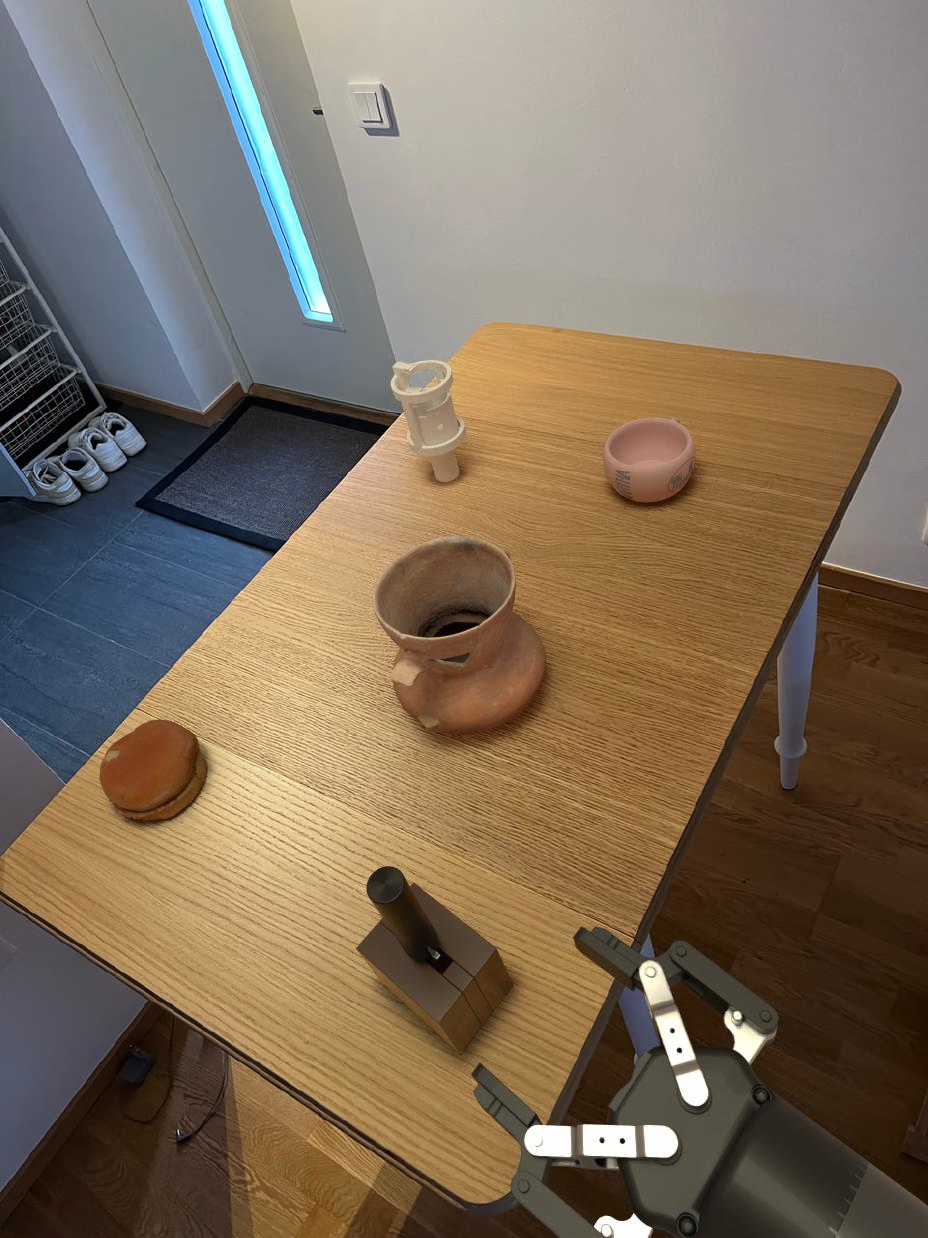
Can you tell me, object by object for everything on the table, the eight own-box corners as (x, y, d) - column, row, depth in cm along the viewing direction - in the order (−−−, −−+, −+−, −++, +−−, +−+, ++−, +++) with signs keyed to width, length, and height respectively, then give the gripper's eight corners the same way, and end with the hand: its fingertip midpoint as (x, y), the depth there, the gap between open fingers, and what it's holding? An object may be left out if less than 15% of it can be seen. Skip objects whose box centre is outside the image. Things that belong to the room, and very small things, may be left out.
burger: (207, 810, 77) (184, 784, 73) (111, 837, 77) (84, 812, 74) (211, 726, 84) (191, 699, 80) (123, 751, 84) (99, 724, 81)
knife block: (460, 1055, 58) (438, 1023, 53) (382, 983, 63) (355, 948, 58) (513, 984, 61) (497, 948, 56) (435, 920, 65) (413, 881, 60)
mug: (668, 523, 90) (667, 480, 86) (589, 499, 95) (584, 457, 91) (719, 458, 95) (720, 415, 91) (641, 439, 100) (639, 397, 96)
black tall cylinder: (452, 1011, 60) (389, 916, 48) (421, 984, 62) (353, 885, 50) (473, 984, 61) (417, 883, 49) (442, 958, 63) (380, 854, 51)
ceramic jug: (494, 783, 72) (461, 683, 62) (366, 728, 79) (317, 630, 69) (586, 637, 81) (570, 529, 71) (463, 599, 88) (432, 496, 78)
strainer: (441, 451, 107) (412, 346, 97) (485, 463, 104) (461, 355, 93) (408, 484, 104) (375, 379, 93) (453, 497, 100) (424, 390, 90)
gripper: (922, 1078, 35) (601, 866, 44) (750, 1434, 29) (421, 1104, 38) (893, 1119, 40) (612, 923, 49) (743, 1427, 34) (456, 1140, 43)
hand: (529, 1002), depth 44 cm, fingers open, 8 cm apart
